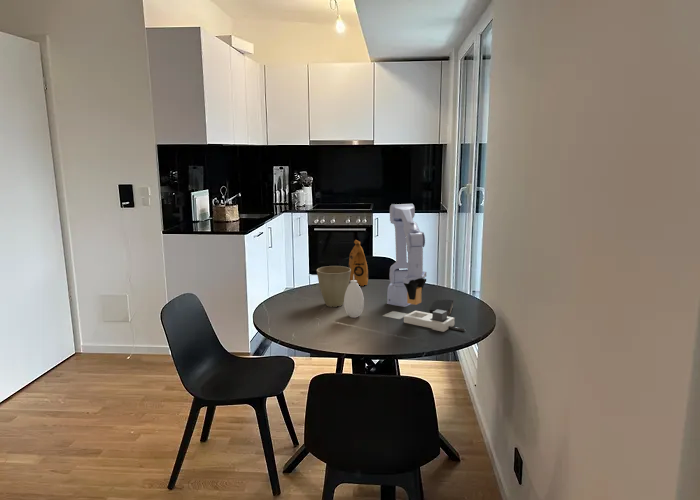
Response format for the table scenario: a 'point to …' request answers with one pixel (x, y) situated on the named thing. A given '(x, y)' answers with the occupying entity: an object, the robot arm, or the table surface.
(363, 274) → the coffee package
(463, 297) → the table surface
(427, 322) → the white slotted board
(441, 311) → the dark grey block
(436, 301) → the black sponge
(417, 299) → the orange plug
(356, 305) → the sauce bottle
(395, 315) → the grey mat
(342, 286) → the plant pot
